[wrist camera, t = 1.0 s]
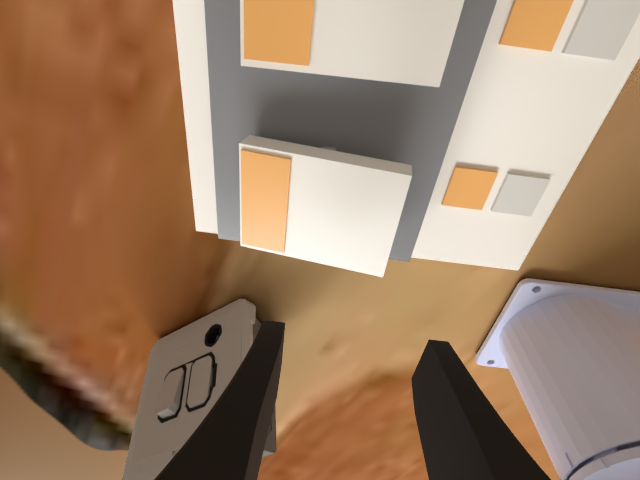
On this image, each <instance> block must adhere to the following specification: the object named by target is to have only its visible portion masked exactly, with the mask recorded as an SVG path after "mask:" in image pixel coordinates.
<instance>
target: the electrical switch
mask: <svg viewBox="0 0 640 480" xmlns="http://www.w3.org/2000/svg"><path fill="white" fill-rule="evenodd" d="M255 316H256V307H255V306H254V304H253V303H251V302H249V301H248V300H246V299H238V300H236V301H234V302H232V303H230V304H228V305H226V306H224V307H222V308H220V309H218V310H216V311H214V312H212V313H210V314H208V315H206V316H204V317H202V318H200V319H199V320H197V321H195V322H193V323H191V324H189V325H187V326H185V327H183V328H181V329H179V330H177V331H175V332H173V333H171V334H169V335H167V336H165V337H163V338H161V339H159V340H158V341H156V342H155V344H154V346H153V347H152V349H151V352H150V356H149V361H148V365H147V369H146V374H145V378H144V383H143V388H142V392H141V397H140V401H139V406H138V410H137V415H136V419H135V424H134V428H133V433H132V437H131V442H130V447H129V451H128V456H127V460H126V465H125V469H124V474H123V478H122V480H154V479H155V478H156V477H157V476H158V475H159V473H160V472H161V471H162V470H163V469H164V468H165V466H166V465H167V464H168V463H169V462H170V461H171V459H172V458H173V457H174V456H175V455H176V453H177V452H178V451H179V450H180V449H181V448H182V446H183V445H184V444H185V443H186V441H187V440H188V439H189V438H190V436H191V435H192V434H193V433H194V431H195V430H196V429H197V428H198V426H199V425H200V424H201V422H202V421H203V420H204V418H205V417H206V416H207V414H208V413H209V412H210V410H211V409H212V407H213V406H214V404H215V403H216V402H217V400H218V399H219V397H220V396H221V394H222V393H223V392H224V390H225V389H226V387H227V386H228V384H229V383H230V381H231V380H232V378H233V376H234V375H235V373H236V371H237V370H238V368H239V367H240V365H241V363H242V362H243V360H244V358H245V357H246V355H247V353H248V351H249V349H250V348H251V346H252V344H253V342H254V340H255V338H256V336H257V333H258V331H259V329H260V326H261V324H262V323H261V322H260V321H259V320H257V319H255ZM272 450H275V451H276V419H275V406H274V410H273V414H272V418H271V422H270V426H269V431H268V435H267V439H266V443H265V447H264V451H263V455H262V457H265V456H268V455H272V454H275V451H272Z"/></svg>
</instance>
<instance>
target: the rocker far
mask: <svg viewBox="0 0 640 480" xmlns="http://www.w3.org/2000/svg"><path fill="white" fill-rule="evenodd" d="M239 177H240V242H241V246H244V247H248V248H253V249H257V250H262V251H266V252H271V253H275V254H280V255H284V256H289V257H293V258H298V259H302V260H307V261H311V262H316V263H320V264H325V265H329V266H334V267H338V268H343V269H347V270H352V271H357V272H361V273H366V274H370V275H375V276H379V277H383V275H384V272H385V268H386V265H387V261H388V258H389V254H390V251H391V247H392V244H393V241H394V237H395V234H396V230H397V227H398V223H399V220H400V216H401V213H402V209H403V206H404V202H405V199H406V196H407V192H408V189H409V185H410V182H411V178H412V165H408V164H403V163H398V162H392V161H387V160H382V159H376V158H371V157H366V156H360V155H355V154H350V153H344V152H339V151H333V150H328V149H323V148H317V147H312V146H307V145H301V144H296V143H291V142H285V141H280V140H275V139H269V138H264V137H258V136H253V135H249V136H247V137H246V138H245V139H244V140H242V141H241V142H240V143H239Z"/></svg>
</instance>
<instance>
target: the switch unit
mask: <svg viewBox="0 0 640 480" xmlns="http://www.w3.org/2000/svg"><path fill="white" fill-rule="evenodd" d="M173 9H174V19H175V29H176V38H177V48H178V58H179V68H180V78H181V88H182V97H183V107H184V117H185V127H186V137H187V147H188V156H189V166H190V176H191V186H192V196H193V205H194V215H195V225H196V231H200V232H209V233H217V234H218V239H226V240H234V241H240V177H239V143H240V142H241V141H242V140H244V139H245V138H246V137H247V136H249V135H253V136H258V137H264V138H269V139H275V140H280V141H285V142H291V143H296V144H301V145H307V146H312V147H317V148H323V149H328V150H333V151H339V152H344V153H350V154H355V155H360V156H366V157H371V158H376V159H382V160H387V161H392V162H398V163H403V164H408V165H412V178H411V182H410V185H409V189H408V192H407V196H406V199H405V202H404V206H403V209H402V213H401V216H400V220H399V223H398V227H397V230H396V234H395V237H394V241H393V244H392V247H391V251H390V254H389V258H388V259H390V260H398V261H406V262H410V259H411V257H413V258H421V259H429V260H437V261H445V262H453V263H461V264H470V265H478V266H486V267H494V268H502V269H510V270H519V268H520V266H521V264H522V263H523V261H524V259H525V257H526V256H527V254H528V252H529V250H530V249H531V247H532V245H533V243H534V242H535V240H536V238H537V236H538V235H539V233H540V231H541V229H542V228H543V226H544V224H545V222H546V221H547V219H548V217H549V215H550V214H551V212H552V210H553V208H554V207H555V205H556V203H557V201H558V200H559V198H560V196H561V194H562V193H563V191H564V189H565V187H566V186H567V184H568V182H569V180H570V179H571V177H572V175H573V173H574V172H575V170H576V168H577V166H578V165H579V163H580V161H581V159H582V157H583V156H584V154H585V152H586V150H587V149H588V147H589V145H590V143H591V142H592V140H593V138H594V136H595V135H596V133H597V131H598V129H599V128H600V126H601V124H602V122H603V121H604V119H605V117H606V115H607V114H608V112H609V110H610V108H611V107H612V105H613V103H614V101H615V100H616V98H617V96H618V94H619V93H620V91H621V89H622V87H623V86H624V84H625V82H626V80H627V79H628V77H629V75H630V73H631V72H632V70H633V68H634V66H635V65H636V63H637V61H638V59H639V58H640V0H465V1H464V4H463V7H462V11H461V14H460V18H459V21H458V25H457V28H456V31H455V35H454V38H453V42H452V45H451V49H450V52H449V55H448V59H447V62H446V66H445V69H444V73H443V76H442V80H441V83H440V86H439V87H431V86H422V85H413V84H404V83H395V82H385V81H376V80H367V79H358V78H349V77H339V76H330V75H321V74H312V73H303V72H293V71H284V70H275V69H266V68H257V67H247V66H241V46H240V0H173Z"/></svg>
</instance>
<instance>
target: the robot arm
mask: <svg viewBox="0 0 640 480" xmlns="http://www.w3.org/2000/svg"><path fill="white" fill-rule="evenodd" d="M536 286H537V287H536ZM534 287H536V288H534ZM284 330H285V323H282V322H273V321H264V322H262V324H261V326H260V329H259V331H258V333H257V336H256V338H255V340H254V342H253V344H252V346H251V348H250V349H249V351H248V353H247V355H246V357H245V358H244V360H243V362H242V363H241V365H240V367H239V368H238V370H237V371H236V373H235V375H234V376H233V378H232V380H231V381H230V383H229V384H228V386H227V387H226V389H225V390H224V392H223V393H222V394H221V396H220V397H219V399H218V400H217V402H216V403H215V404H214V406H213V407H212V409H211V410H210V412H209V413H208V414H207V416H206V417H205V418H204V420H203V421H202V422H201V424H200V425H199V426H198V428H197V429H196V430H195V431H194V433H193V434H192V435H191V436H190V438H189V439H188V440H187V441H186V443H185V444H184V445H183V446H182V448H181V449H180V450H179V451H178V452H177V453H176V455H175V456H174V457H173V458H172V459H171V461H170V462H169V463H168V464H167V465H166V466H165V468H164V469H163V470H162V471H161V472H160V473H159V475H158V476H157V477H156V478H155V479H154V480H257V477H258V472H259V468H260V464H261V459H262V455H263V451H264V447H265V443H266V439H267V435H268V431H269V426H270V422H271V418H272V414H273V410H274V406H275V402H276V397H277V391H278V385H279V378H280V371H281V364H282V353H283V342H284ZM475 360H476V363H477V364H478V365H482V366H491V367H500V368H509V370H510V373H511V375H512V377H513V379H514V381H515V383H516V386H517V388H518V390H519V392H520V394H521V396H522V398H523V401H524V403H525V405H526V407H527V409H528V411H529V414H530V416H531V418H532V420H533V422H534V424H535V426H536V429H537V431H538V433H539V435H540V437H541V439H542V442H543V444H544V446H545V448H546V450H547V452H548V454H549V457H550V459H551V461H552V463H553V465H554V467H555V470H556V472H557V474H558V476H559V478H560V480H640V292H638V291H630V290H621V289H613V288H605V287H597V286H589V285H580V284H572V283H564V282H556V281H548V280H539V279H531V278H526V279H523V280H521V281H520V282H519V283H518V285H517V286H516V288H515V290H514V291H513V293H512V295H511V297H510V298H509V300H508V302H507V303H506V305H505V307H504V308H503V310H502V312H501V314H500V315H499V317H498V319H497V320H496V322H495V324H494V326H493V327H492V329H491V331H490V332H489V334H488V336H487V337H486V339H485V341H484V343H483V344H482V346H481V348H480V349H479V351H478V353H477V354H476V356H475ZM412 389H413V400H414V409H415V415H416V420H417V425H418V430H419V435H420V439H421V444H422V449H423V453H424V458H425V463H426V467H427V472H428V477H429V480H551V479H550V478H549V477H548V476H547V475H546V474H545V472H544V471H543V470H542V469H541V468H540V467H539V466H538V464H537V463H536V462H535V461H534V460H533V458H532V457H531V456H530V455H529V453H528V452H527V451H526V450H525V449H524V447H523V446H522V445H521V443H520V442H519V441H518V440H517V438H516V437H515V436H514V435H513V433H512V432H511V431H510V429H509V428H508V427H507V425H506V424H505V423H504V421H503V420H502V419H501V417H500V416H499V415H498V413H497V412H496V411H495V409H494V408H493V406H492V405H491V404H490V402H489V401H488V399H487V398H486V397H485V395H484V394H483V392H482V391H481V390H480V388H479V387H478V385H477V384H476V382H475V381H474V379H473V378H472V376H471V375H470V373H469V372H468V370H467V369H466V367H465V366H464V364H463V363H462V361H461V360H460V358H459V357H458V355H457V354H456V352H455V351H454V349H453V348H452V347H451V345H450V344H449V342H445V341H437V340H429V341H428V343H427V345H426V347H425V350H424V352H423V354H422V356H421V359H420V361H419V363H418V365H417V368H416V370H415V372H414V374H413V377H412Z"/></svg>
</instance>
